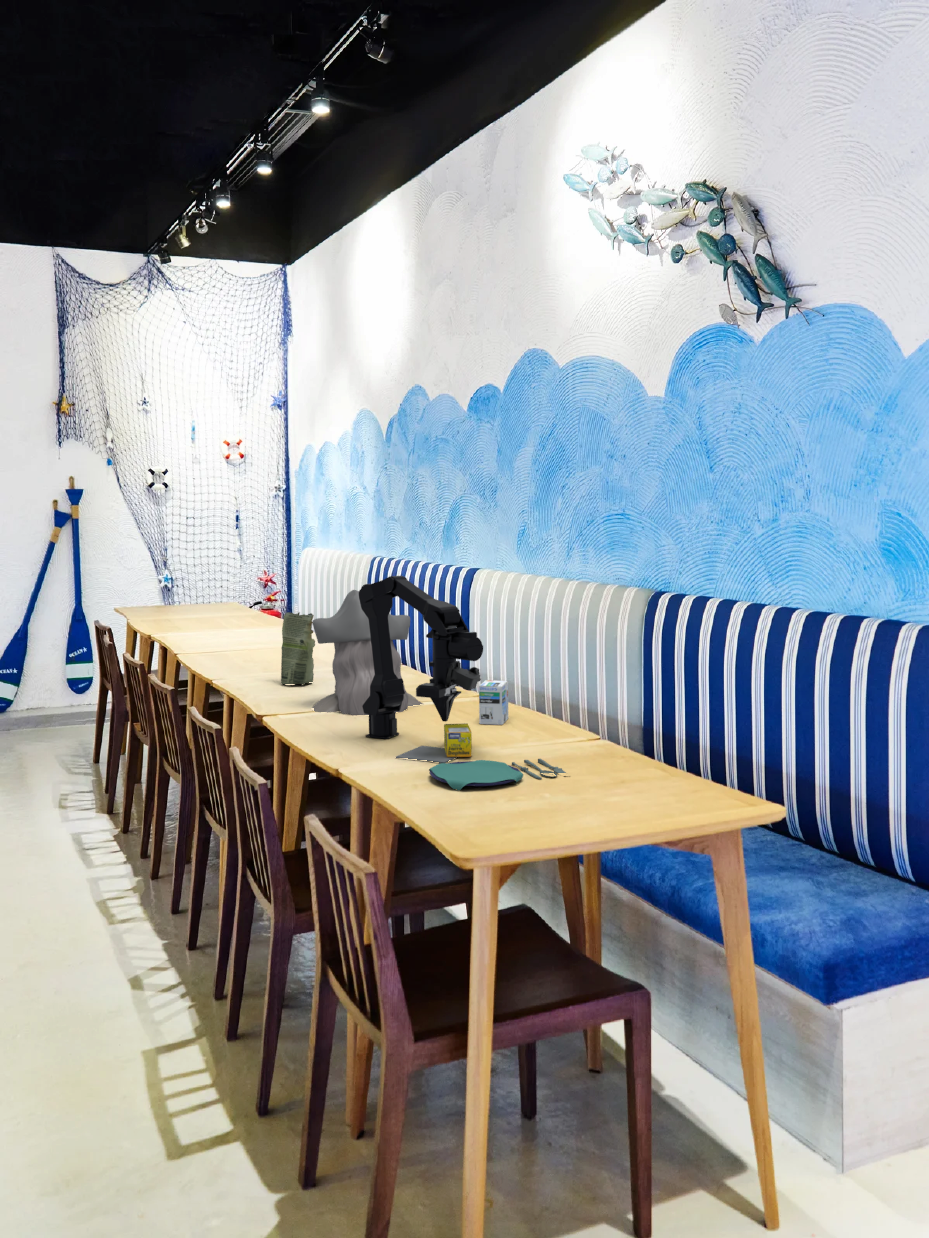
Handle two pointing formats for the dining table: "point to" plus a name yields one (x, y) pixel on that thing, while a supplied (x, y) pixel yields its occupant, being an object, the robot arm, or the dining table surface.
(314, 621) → the gray wizard statue
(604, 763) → the dining table surface
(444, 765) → the cutlery set
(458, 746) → the supplement box
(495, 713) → the light bulb box
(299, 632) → the pouch
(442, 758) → the mat
